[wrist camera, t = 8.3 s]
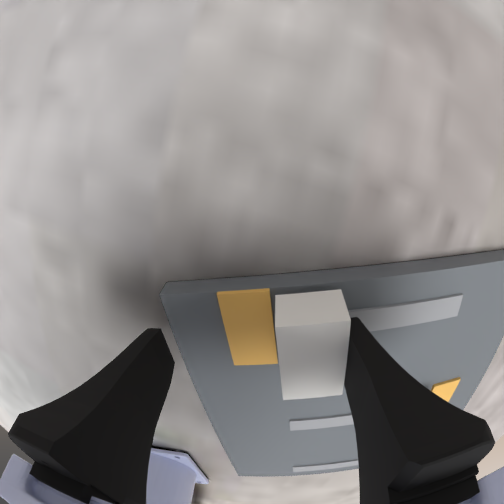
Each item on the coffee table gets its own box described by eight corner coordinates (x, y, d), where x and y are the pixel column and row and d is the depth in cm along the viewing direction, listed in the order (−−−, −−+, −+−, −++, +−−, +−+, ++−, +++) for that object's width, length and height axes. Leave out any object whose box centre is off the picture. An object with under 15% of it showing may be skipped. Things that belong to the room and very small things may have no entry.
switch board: (239, 466, 21) (238, 477, 20) (166, 281, 13) (157, 297, 11) (431, 441, 19) (434, 451, 18) (520, 247, 10) (533, 257, 9)
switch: (282, 368, 12) (283, 400, 11) (275, 295, 11) (274, 326, 9) (336, 363, 12) (342, 394, 10) (340, 289, 10) (350, 320, 9)
